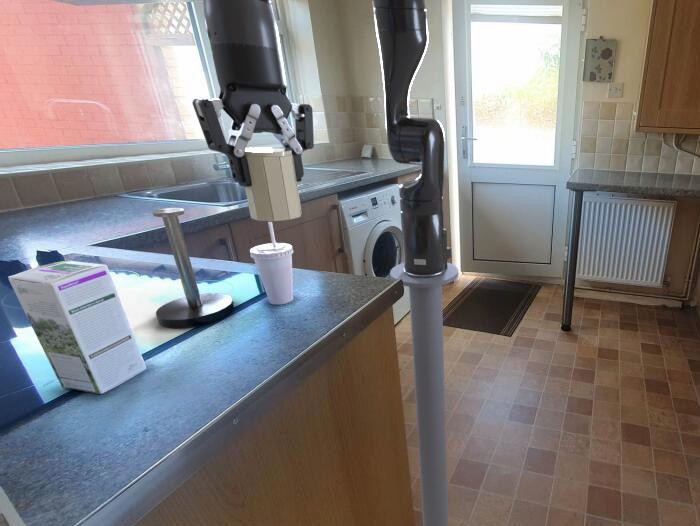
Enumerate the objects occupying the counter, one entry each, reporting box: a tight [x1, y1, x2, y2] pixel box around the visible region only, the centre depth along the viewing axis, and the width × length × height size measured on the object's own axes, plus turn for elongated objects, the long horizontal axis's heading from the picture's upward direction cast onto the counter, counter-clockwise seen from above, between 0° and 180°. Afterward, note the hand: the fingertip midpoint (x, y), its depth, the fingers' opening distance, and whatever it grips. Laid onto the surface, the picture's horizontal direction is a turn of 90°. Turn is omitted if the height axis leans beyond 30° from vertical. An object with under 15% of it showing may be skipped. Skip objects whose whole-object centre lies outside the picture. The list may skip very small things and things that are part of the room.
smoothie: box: [249, 221, 294, 306], centre depth 70 cm, size 6×6×14 cm
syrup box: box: [7, 260, 147, 395], centre depth 47 cm, size 6×6×14 cm
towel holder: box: [152, 207, 235, 329], centre depth 63 cm, size 10×10×17 cm
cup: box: [243, 147, 303, 222], centre depth 57 cm, size 6×6×9 cm
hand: (271, 183), depth 57 cm, fingers closed on cup, 6 cm apart
